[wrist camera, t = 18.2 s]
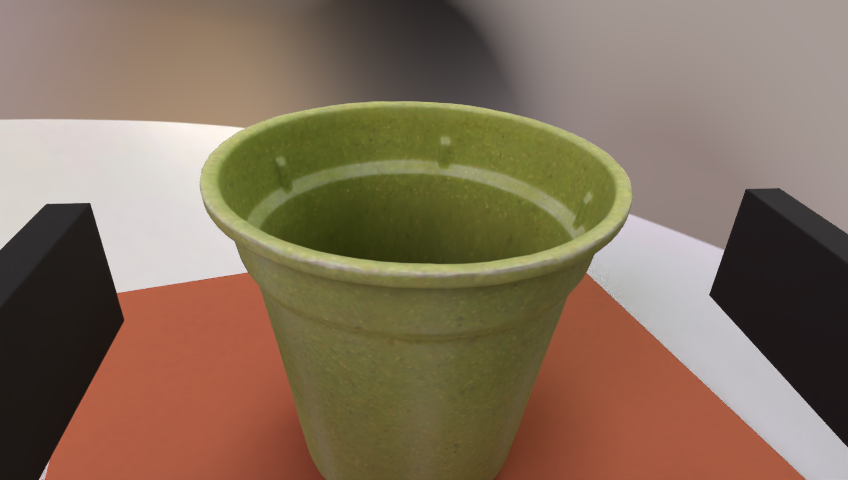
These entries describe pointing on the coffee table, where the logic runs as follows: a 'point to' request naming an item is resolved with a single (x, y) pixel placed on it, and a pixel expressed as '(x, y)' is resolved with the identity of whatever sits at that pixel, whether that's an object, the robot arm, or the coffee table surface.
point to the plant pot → (413, 271)
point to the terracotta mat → (283, 436)
